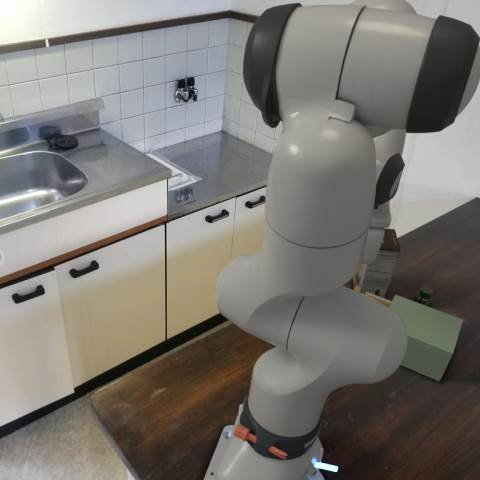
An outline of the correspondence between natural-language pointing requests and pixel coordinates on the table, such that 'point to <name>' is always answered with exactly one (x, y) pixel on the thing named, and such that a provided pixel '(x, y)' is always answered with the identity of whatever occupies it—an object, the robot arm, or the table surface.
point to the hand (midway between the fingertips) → (347, 254)
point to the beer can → (424, 295)
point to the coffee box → (379, 267)
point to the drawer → (375, 297)
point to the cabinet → (427, 336)
